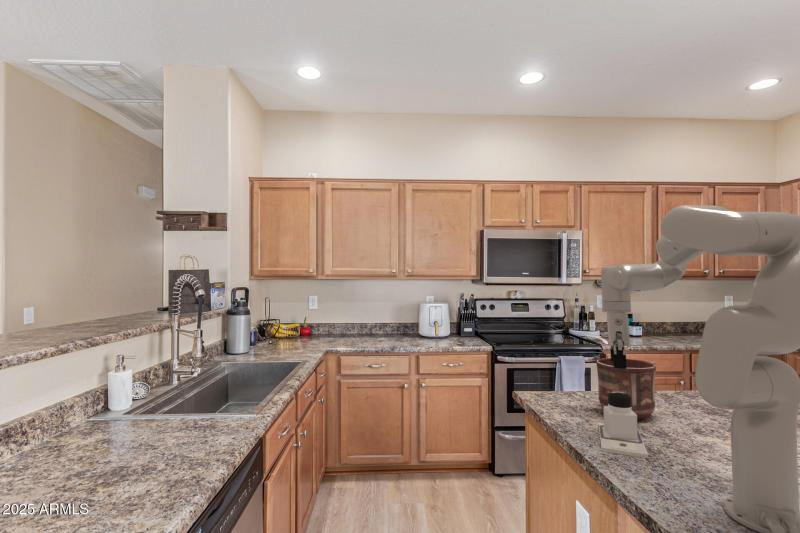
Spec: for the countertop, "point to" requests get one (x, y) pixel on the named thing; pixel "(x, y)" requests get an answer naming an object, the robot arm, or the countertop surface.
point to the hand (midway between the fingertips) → (618, 364)
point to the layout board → (621, 444)
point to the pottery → (628, 384)
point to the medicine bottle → (620, 417)
